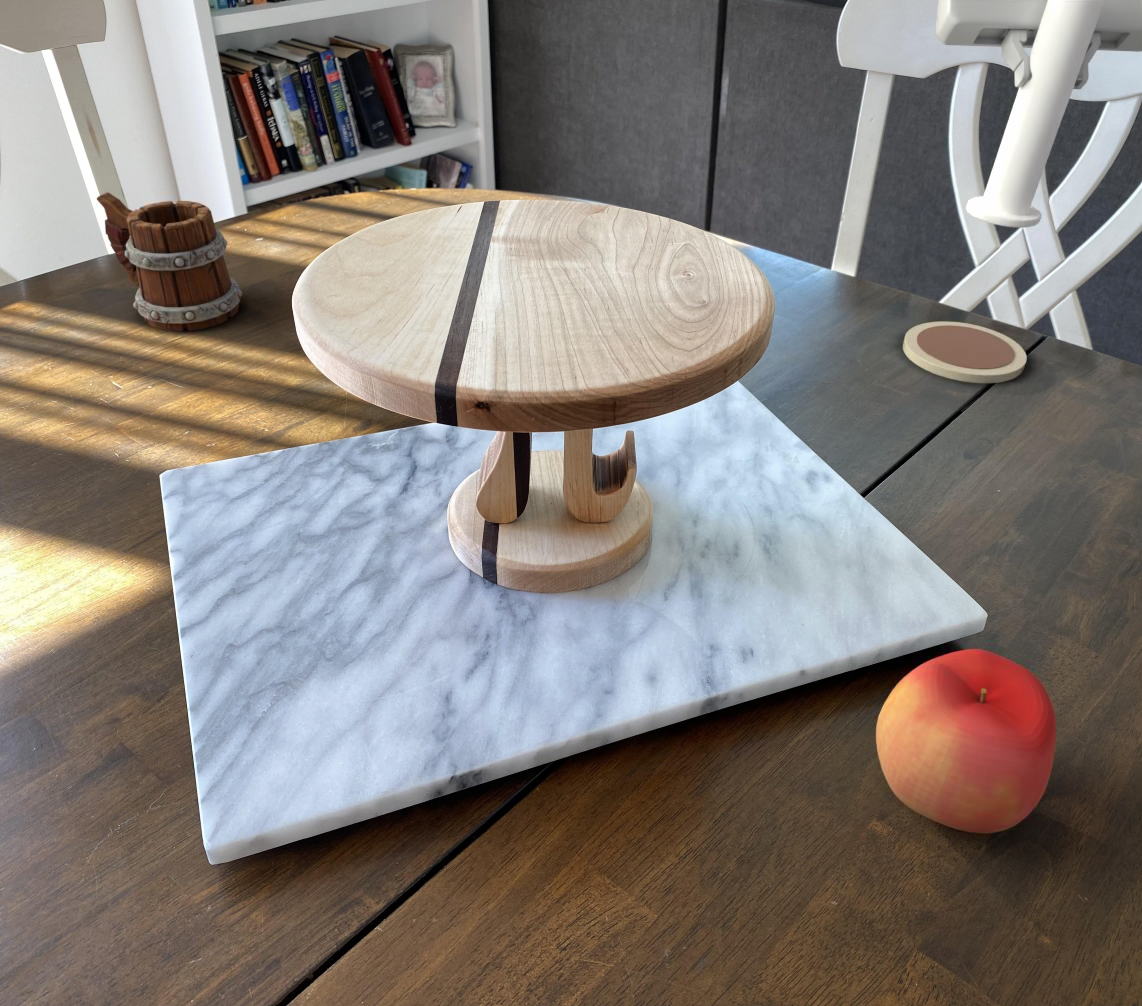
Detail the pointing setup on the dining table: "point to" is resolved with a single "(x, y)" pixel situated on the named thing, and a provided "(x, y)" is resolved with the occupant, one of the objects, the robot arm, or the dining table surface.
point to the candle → (1037, 114)
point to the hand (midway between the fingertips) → (1051, 84)
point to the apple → (968, 741)
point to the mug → (173, 262)
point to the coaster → (964, 352)
